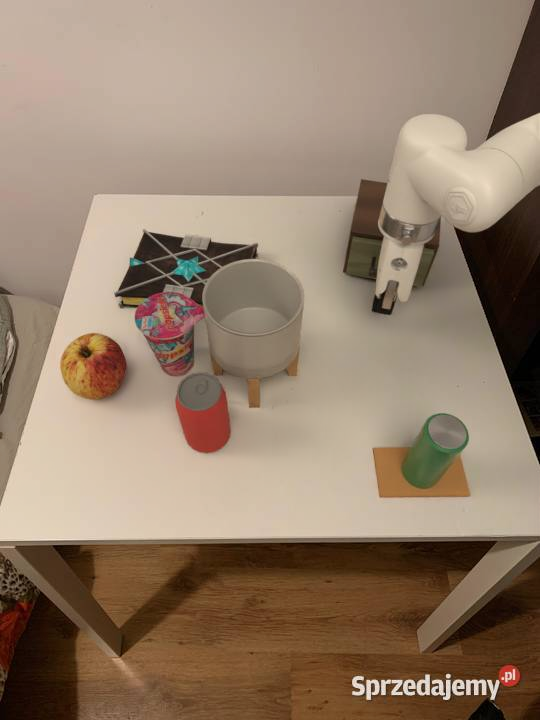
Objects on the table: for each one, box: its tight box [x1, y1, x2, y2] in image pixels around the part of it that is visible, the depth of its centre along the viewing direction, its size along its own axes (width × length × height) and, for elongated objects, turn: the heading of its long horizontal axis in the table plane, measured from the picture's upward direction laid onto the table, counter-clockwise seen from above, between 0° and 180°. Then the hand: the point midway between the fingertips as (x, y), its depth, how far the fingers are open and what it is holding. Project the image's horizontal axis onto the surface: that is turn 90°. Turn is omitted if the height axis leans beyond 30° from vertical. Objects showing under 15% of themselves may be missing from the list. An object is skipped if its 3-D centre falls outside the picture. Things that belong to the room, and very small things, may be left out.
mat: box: [372, 446, 471, 499], centre depth 67 cm, size 12×7×1 cm, turn 91°
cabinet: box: [342, 178, 442, 287], centre depth 88 cm, size 15×15×10 cm
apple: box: [59, 332, 128, 400], centre depth 71 cm, size 9×9×10 cm
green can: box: [401, 412, 470, 489], centre depth 62 cm, size 5×5×12 cm
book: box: [113, 228, 259, 309], centre depth 86 cm, size 22×17×5 cm
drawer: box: [345, 236, 434, 288], centre depth 86 cm, size 18×13×8 cm
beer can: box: [174, 371, 232, 454], centre depth 66 cm, size 7×7×12 cm
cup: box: [134, 292, 205, 377], centre depth 73 cm, size 9×8×12 cm
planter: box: [202, 258, 305, 409], centre depth 69 cm, size 13×13×18 cm
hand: (381, 309), depth 78 cm, fingers closed
